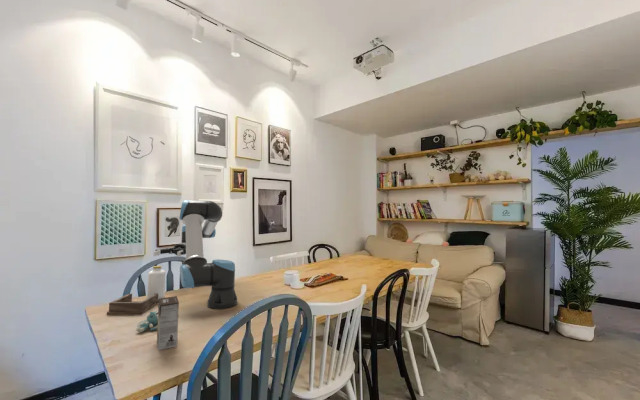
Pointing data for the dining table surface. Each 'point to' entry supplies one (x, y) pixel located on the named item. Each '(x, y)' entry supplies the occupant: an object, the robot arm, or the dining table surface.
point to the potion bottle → (156, 282)
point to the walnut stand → (132, 305)
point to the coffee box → (167, 322)
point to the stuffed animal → (149, 322)
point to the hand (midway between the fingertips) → (166, 254)
